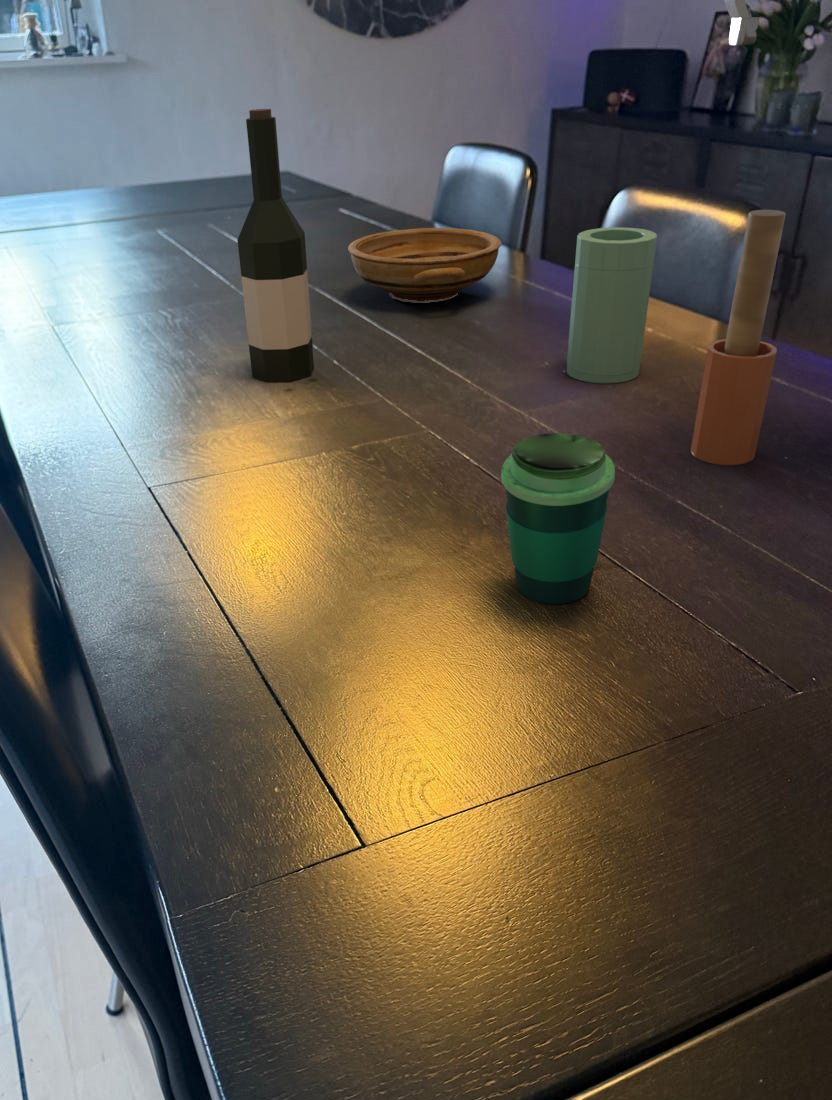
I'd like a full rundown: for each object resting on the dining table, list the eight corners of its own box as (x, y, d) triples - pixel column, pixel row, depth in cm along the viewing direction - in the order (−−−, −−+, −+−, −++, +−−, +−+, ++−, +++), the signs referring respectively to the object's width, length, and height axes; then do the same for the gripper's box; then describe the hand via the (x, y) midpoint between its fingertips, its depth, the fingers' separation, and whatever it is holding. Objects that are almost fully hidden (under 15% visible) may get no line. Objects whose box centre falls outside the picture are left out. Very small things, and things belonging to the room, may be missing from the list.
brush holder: (738, 444, 95) (760, 336, 89) (764, 468, 90) (788, 355, 84) (681, 448, 95) (698, 340, 89) (703, 472, 90) (723, 360, 84)
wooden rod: (733, 442, 94) (779, 207, 82) (750, 457, 91) (800, 215, 79) (694, 445, 94) (735, 210, 82) (710, 460, 91) (754, 218, 79)
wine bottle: (258, 386, 117) (230, 115, 100) (246, 367, 124) (217, 110, 107) (322, 377, 119) (304, 109, 102) (306, 359, 126) (287, 104, 109)
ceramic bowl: (523, 312, 140) (526, 256, 135) (364, 325, 138) (362, 269, 133) (474, 268, 164) (475, 220, 160) (339, 280, 162) (336, 230, 158)
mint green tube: (626, 358, 120) (642, 225, 111) (648, 381, 112) (667, 240, 103) (558, 363, 119) (569, 229, 110) (576, 385, 112) (589, 244, 103)
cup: (619, 587, 73) (639, 443, 66) (565, 632, 68) (580, 482, 62) (532, 557, 78) (541, 420, 71) (475, 597, 73) (480, 454, 66)
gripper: (962, -191, 68) (907, 33, 76) (687, -177, 68) (660, 47, 75) (1018, -208, 63) (953, 35, 71) (721, -193, 62) (688, 49, 70)
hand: (800, 41), depth 73 cm, fingers open, 8 cm apart
